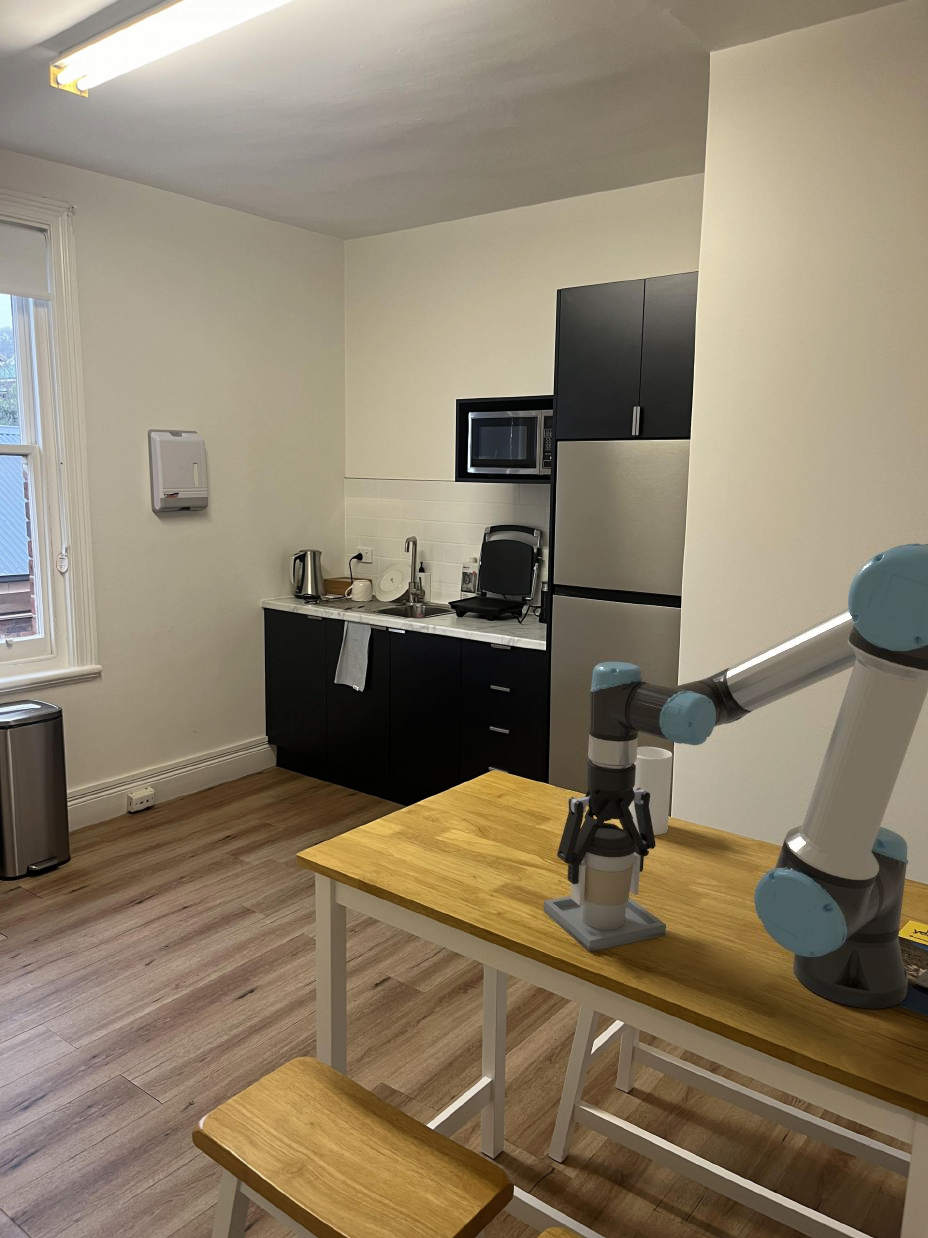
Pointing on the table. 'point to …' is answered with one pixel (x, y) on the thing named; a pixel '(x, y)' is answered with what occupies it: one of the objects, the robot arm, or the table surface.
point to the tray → (634, 929)
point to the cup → (654, 784)
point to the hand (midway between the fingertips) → (604, 896)
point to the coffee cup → (607, 877)
